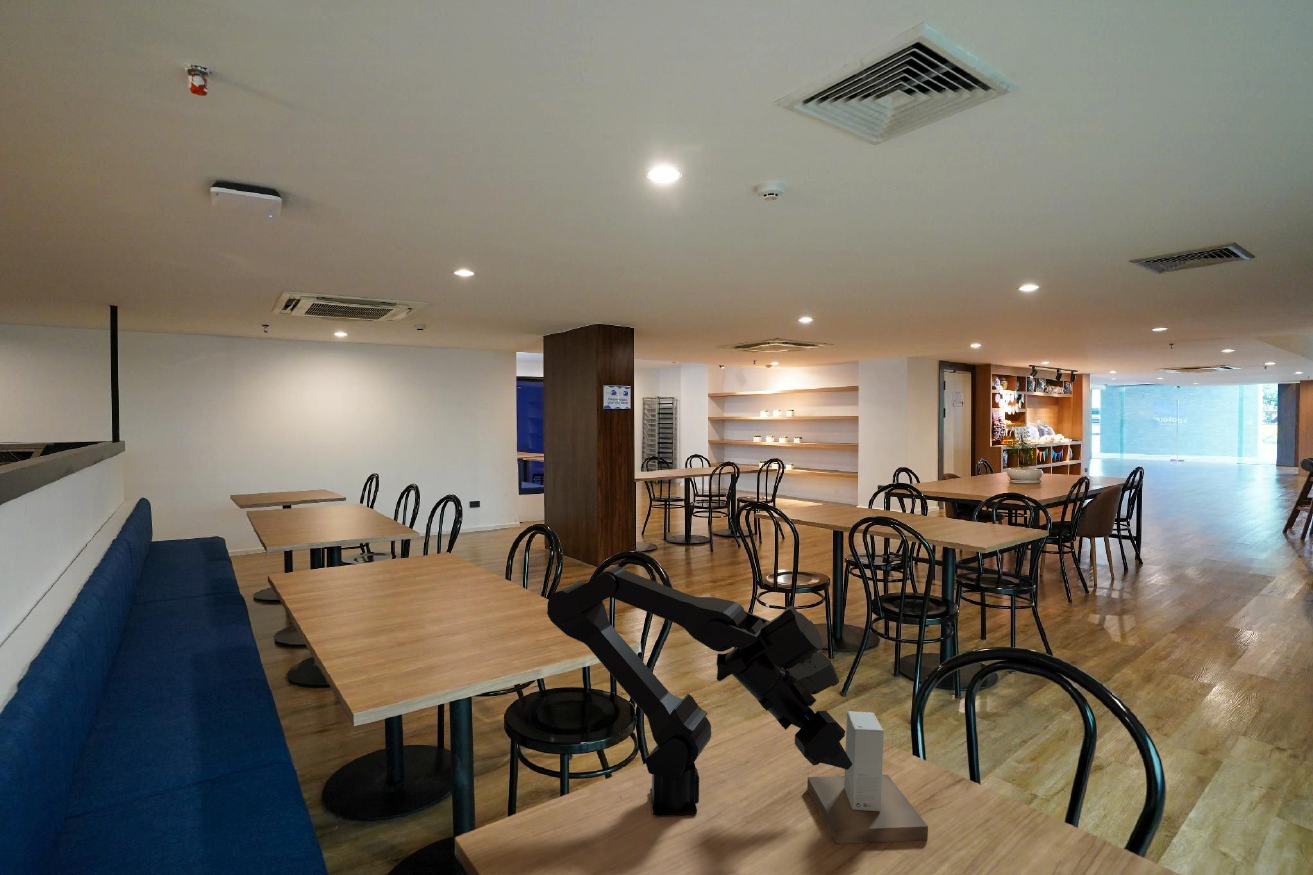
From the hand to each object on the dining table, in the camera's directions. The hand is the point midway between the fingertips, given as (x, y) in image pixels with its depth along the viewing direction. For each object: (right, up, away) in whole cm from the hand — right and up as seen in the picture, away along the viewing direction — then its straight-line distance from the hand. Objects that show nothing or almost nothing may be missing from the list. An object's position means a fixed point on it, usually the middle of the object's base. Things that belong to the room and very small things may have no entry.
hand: (835, 749), depth 97 cm
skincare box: (+4, -8, +1) cm, 9 cm away
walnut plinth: (+5, -10, +1) cm, 11 cm away
